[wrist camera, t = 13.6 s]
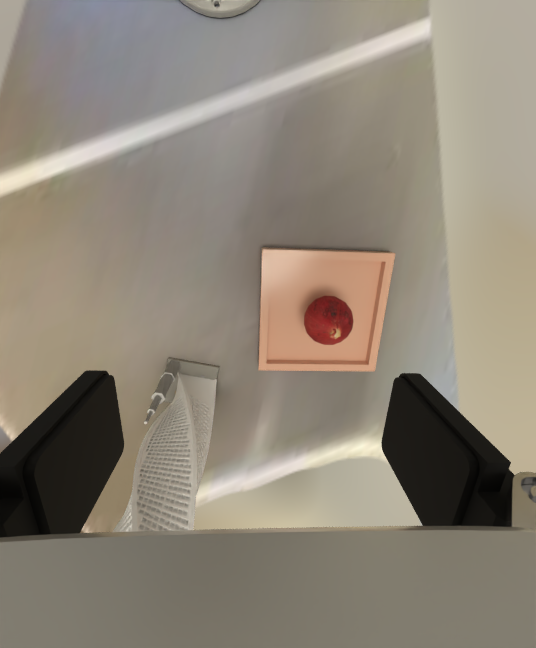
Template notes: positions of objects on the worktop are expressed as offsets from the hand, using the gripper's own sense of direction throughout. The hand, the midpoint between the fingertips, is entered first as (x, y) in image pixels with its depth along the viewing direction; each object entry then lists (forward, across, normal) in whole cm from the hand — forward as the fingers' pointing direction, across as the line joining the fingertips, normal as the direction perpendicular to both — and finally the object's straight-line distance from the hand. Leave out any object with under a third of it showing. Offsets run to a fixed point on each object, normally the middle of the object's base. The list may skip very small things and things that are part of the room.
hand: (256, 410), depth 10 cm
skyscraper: (+31, +8, +18) cm, 36 cm away
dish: (+30, -9, +6) cm, 32 cm away
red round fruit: (+30, -9, +6) cm, 32 cm away
